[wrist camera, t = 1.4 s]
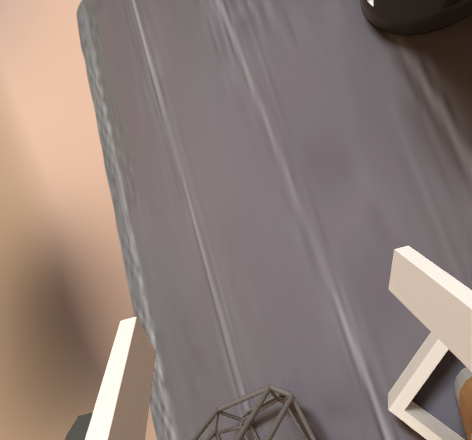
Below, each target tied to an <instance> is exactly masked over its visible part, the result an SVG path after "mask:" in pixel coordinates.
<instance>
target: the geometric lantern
mask: <svg viewBox="0 0 472 440" xmlns="http://www.w3.org/2000/svg"><path fill="white" fill-rule="evenodd" d="M273 391H275V392H277V394H275V393H274V392H273ZM269 392H270V393H271V394H272V397H270V398H268V399H266V398H267V396H268V394H269ZM262 393H263V394H262ZM260 394H262V396H261V398H260V399H259V401H258V403H257V404H256V406H254V407H252V408H250V409H249V410H247V411H246V414H245V415H244V416H243V418H240V417H237V416H234V415H231V414H229V413H226V412H223V410H225V409H227V408H230V407H232V406H234V405H237V404H239V403H241V402H244V401H246V400H248V399H251V398H253V397H255V396H257V395H260ZM281 395H282V396H286V398H285V400H283V399H280V398H279V397H280V396H281ZM265 399H266V400H265ZM273 399H274V400H273ZM271 400H273V401H271ZM269 401H271V402H269ZM267 402H269V403H267ZM276 402H281V403H283V404H284V406H283V408H282V409H281V411H280V413H279V415H278V417H277V418H276V420H275V422H274V424H273V425H272V427H271V429H270V431H269V432H268V434H267V436H266V438H265V439H264V440H272V438H273V436H274V435H275V433H276V431H277V429H278V427H279V425H280V423H281V422H282V420H283V418H284V416H285V414H286V412H287V411H288V412H289V414H290V416H291V417H292V419H293V421H294V422H295V424H296V426H297V428H298V429H299V431H300V433H301V434H302V436H303V438H304V439H305V440H308V438H307V437H306V435H305V433H304V432H303V430H302V428H301V427H300V425H299V423H298V422H297V420H296V418H295V417H294V415H293V413H292V412H291V410H290V408H289V406H290V405H291V403H292V404H293V406H294V407H295V409H296V411H297V413H298V415H299V416H300V418H301V420H302V422H303V424H304V426H305V428H306V430H307V432H308V434H309V436H310V438H311V440H318V439H317V438H316V436H315V434H314V433H313V431H312V430H311V428H310V426H309V424H308V422H307V420H306V418H305V416H304V414H303V412H302V410H301V408H300V406H299V404H298V402H297V401H296V399H295V397H294V395H293V394H292V393H291V392H289V391H287V390H284V389H281V388H279V387H276V386H273V385H267V386H265V387H263V388H260V389H258V390H256V391H254V392H251V393H249V394H247V395H245V396H242V397H240V398H238V399H236V400H233V401H231V402H229V403H227V404H224V405H222V406H220V407H218V408H216V410H215V411H214V412H213V413H212V414H211V416H210V417H209V418H208V419H207V421H206V422H205V423H204V424H203V425H202V427H201V428H200V429H199V430H198V432H197V433H196V434H195V435H194V437H193V438H192V439H191V440H198V438H199V437H200V436H201V434H202V433H203V432H204V431H205V429H206V428H207V427H208V425H209V424H210V423H211V422H212V420H213V419H214V418H215V419H214V426H213V431H212V432H211V433H210V434H209V436H208V437H207V438H206V439H205V440H211V439H212V438H213V437H214V436H215V437H216V440H221V438H220V435H219V434H222V433H226V432H230V431H234V430H238V429H240V431H239V432H238V434H237V436H236V437H235V439H234V440H242V438H243V436H244V438H245V439H246V440H249V439H248V437H247V435H246V431H247V430H248V428H249V426H250V428H251V430H252V432H253V434H254V436H255V438H256V440H260V439H259V438H258V436H257V434H256V432H255V430H254V428H253V426H252V425H251V423H252V421H253V420H254V418H255V416H256V415H257V413H259V412H261V411H262V410H264V409H266V408H267V407H269V406H271V405H273V404H274V403H276ZM266 403H267V404H266ZM264 404H266V405H264ZM262 405H264V406H262ZM261 406H262V407H261ZM251 411H252V412H251ZM249 412H251V413H250V414H249ZM219 414H221V415H224V416H227V417H230V418H233V419H235V420H238V421H240V426H236V427H232V428H228V429H224V430H220V431H217V426H218V419H219ZM245 420H246V421H245ZM243 421H245V423H244V424H243Z"/></svg>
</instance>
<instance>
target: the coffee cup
mask: <svg viewBox="0 0 472 440" xmlns="http://www.w3.org/2000/svg"><path fill="white" fill-rule="evenodd" d="M454 388H455V395H456V399H457V402H458V405H459V410H460V415H461V419H462V422H463V425H464V429H465V432H466V436H467V439H468V440H472V372H471V371H470V370H469V369H468V368H467V367H465V368H464V369H462V370H461V371H460V372H459V374H458V375H457V377H456V380H455V384H454Z"/></svg>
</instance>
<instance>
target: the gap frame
mask: <svg viewBox="0 0 472 440" xmlns="http://www.w3.org/2000/svg"><path fill="white" fill-rule="evenodd" d="M447 351H448V348H447V347H446V346H445V345H444V344H443V343H442V342H441V341H440V340H439V339H438V338H437V337H436V336H435V335H434V334H433V333H432V332H430V334H429V335H428V337H427V338H426V340H425V341H424V343H423V344H422V345H421V347H420V348H419V350H418V351H417V353H416V354H415V356H414V357H413V358H412V360H411V361H410V363H409V364H408V366H407V367H406V368H405V370H404V371H403V373H402V374H401V376H400V377H399V379H398V380H397V381H396V383H395V384H394V386H393V387H392V389H391V390H390V392H389V393H388V410H389V411H391V412H392V413H393V414H394V415H396V416H397V417H398V418H400V419H401V420H402V421H403V422H405V423H406V424H407V425H409V426H410V427H411V428H412V429H414V430H415V431H416V432H417V433H419V434H420V435H421V436H423V437H424V438H425V439H426V440H465V439H463V438H462V437H461V436H459V435H458V434H457V433H455V432H454V431H452V430H451V429H450V428H448V427H447V426H446V425H444V424H443V423H442V422H440V421H439V420H437V419H436V418H435V417H433V416H432V415H431V414H429V413H428V412H426V411H425V410H424V409H422V408H421V407H420V406H418V405H417V404H416V403H414V402H413V401H412V399H413V398H414V396H415V395H416V394H417V392H418V391H419V389H420V388H421V387H422V385H423V384H424V383H425V381H426V380H427V378H428V377H429V376H430V374H431V373H432V371H433V370H434V369H435V367H436V366H437V365H438V363H439V362H440V360H441V359H442V358H443V356H444V355H445V353H446V352H447Z"/></svg>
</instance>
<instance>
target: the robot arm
mask: <svg viewBox="0 0 472 440" xmlns="http://www.w3.org/2000/svg"><path fill="white" fill-rule="evenodd" d="M360 3H361V7H362V10H363V13H364V14H365V16H366V18H367V19H368V20H369V21H370V22H371V23H372V24H373V25H374V26H376V27H377V28H379V29H381V30H384V31H387V32H390V33H395V34H418V33H424V32H429V31H433V30H436V29H439V28H442V27H445V26H448V25H450V24H452V23H455V22H457V21H459V20H461V19H463V18H464V17H466V16H468V15H470V14H471V13H472V0H360ZM389 290H390V291H391V292H392V293H393V294H394V295H395V296H396V297H397V298H398V299H399V300H400V301H401V302H402V303H403V304H404V305H405V306H406V307H407V308H408V309H409V310H410V311H411V312H412V313H413V314H414V315H415V316H416V317H417V318H418V319H419V320H420V321H421V322H422V323H423V324H424V325H425V326H426V327H427V328H428V329H429V330H430V331H431V332H432V333H433V334H434V335H435V336H436V337H437V338H438V339H439V340H440V341H441V342H442V343H443V344H444V345H445V346H446V347H447V348H448V349H449V350H450V351H451V352H452V353H453V354H454V355H455V356H456V357H457V358H458V359H459V360H460V361H461V362H462V363H463V364H464V365H465V366H466V367H467V368H468V369H469V370H470V371H471V372H472V290H470V289H469V288H468V287H466V286H465V285H463V284H462V283H460V282H459V281H458V280H456V279H455V278H453V277H452V276H451V275H449V274H448V273H446V272H445V271H444V270H442V269H441V268H439V267H438V266H436V265H435V264H434V263H432V262H431V261H429V260H428V259H427V258H425V257H424V256H422V255H421V254H419V253H418V252H417V251H415V250H414V249H412V248H411V247H410V246H405V247H402V248H398V249H394V255H393V262H392V269H391V276H390V282H389ZM155 356H156V351H155V349H154V347H153V345H152V344H151V342H150V340H149V338H148V336H147V334H146V333H145V331H144V329H143V327H142V325H141V324H140V322H139V320H138V318H137V317H133V318H129V319H125V320H122V321H120V325H119V328H118V331H117V335H116V338H115V341H114V344H113V348H112V351H111V354H110V358H109V361H108V365H107V368H106V371H105V375H104V378H103V381H102V385H101V388H100V391H99V395H98V398H97V401H96V404H95V408H94V411H93V413H89V414H85V415H81V416H78V418H77V420H76V421H75V423H74V424H73V426H72V427H71V429H70V431H69V432H68V434H67V436H66V439H65V440H145V433H146V425H147V418H148V410H149V402H150V395H151V387H152V379H153V371H154V364H155Z"/></svg>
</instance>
